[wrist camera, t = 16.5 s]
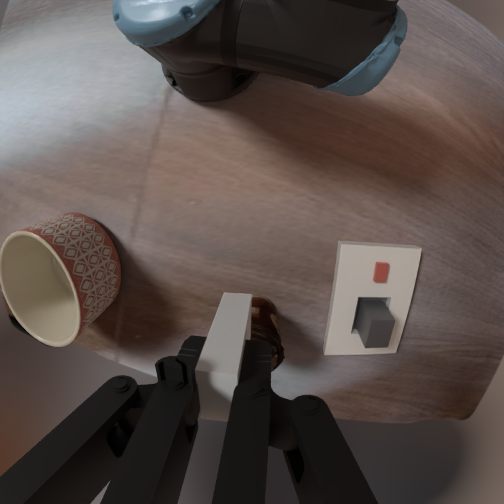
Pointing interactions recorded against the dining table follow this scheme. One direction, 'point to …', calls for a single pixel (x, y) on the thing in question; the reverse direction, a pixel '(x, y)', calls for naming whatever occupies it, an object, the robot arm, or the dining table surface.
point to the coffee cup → (266, 328)
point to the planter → (59, 276)
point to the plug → (374, 323)
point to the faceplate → (369, 292)
